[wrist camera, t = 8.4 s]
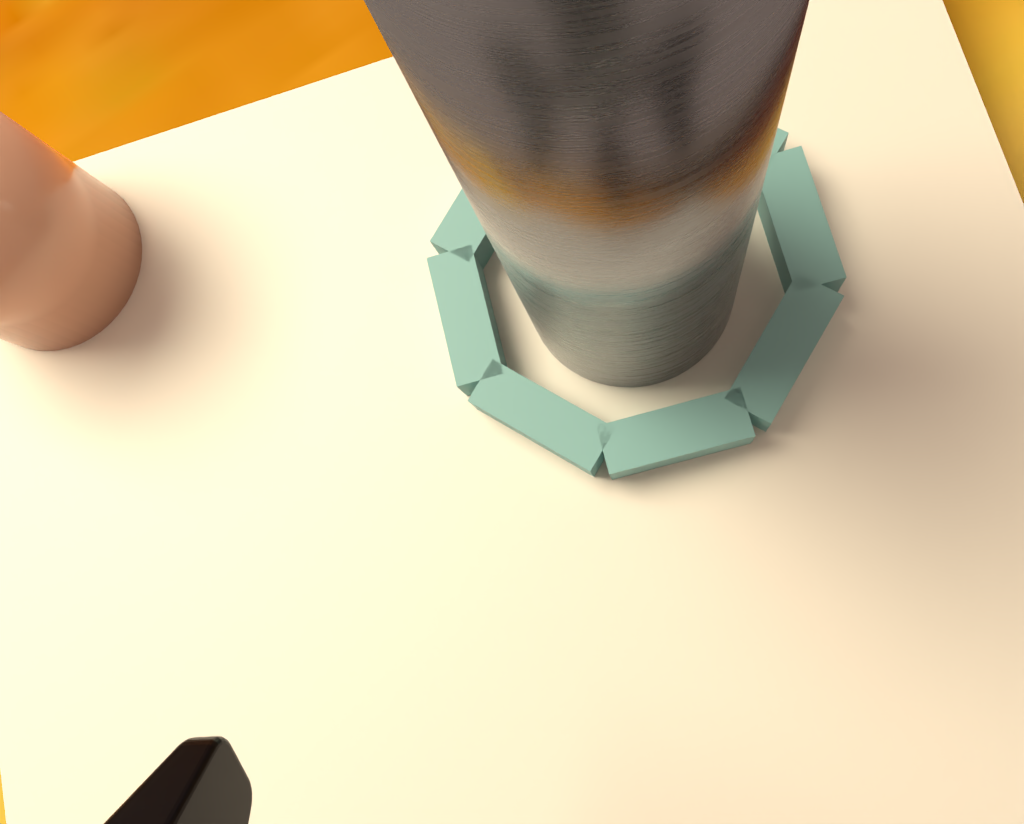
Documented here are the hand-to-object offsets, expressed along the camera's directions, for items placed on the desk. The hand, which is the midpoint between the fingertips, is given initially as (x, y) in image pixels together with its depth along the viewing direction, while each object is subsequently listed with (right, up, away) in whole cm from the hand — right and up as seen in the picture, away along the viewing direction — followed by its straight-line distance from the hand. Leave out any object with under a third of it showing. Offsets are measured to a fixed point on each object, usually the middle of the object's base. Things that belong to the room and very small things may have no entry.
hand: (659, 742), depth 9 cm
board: (-1, 0, +12) cm, 12 cm away
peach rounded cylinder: (-12, +7, +13) cm, 19 cm away
